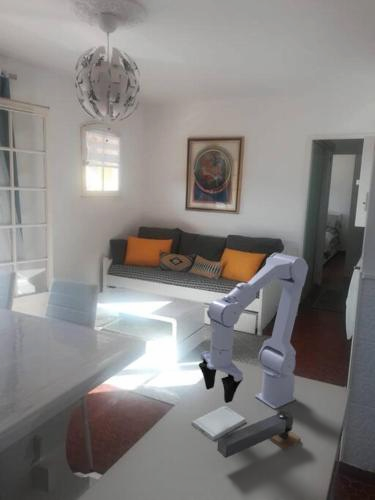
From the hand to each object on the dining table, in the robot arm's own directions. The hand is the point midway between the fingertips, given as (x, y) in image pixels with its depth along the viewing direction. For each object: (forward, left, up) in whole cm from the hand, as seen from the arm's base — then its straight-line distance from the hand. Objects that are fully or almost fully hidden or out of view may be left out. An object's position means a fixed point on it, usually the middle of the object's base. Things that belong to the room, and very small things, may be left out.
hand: (218, 394), depth 101 cm
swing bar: (-1, +14, -5) cm, 14 cm away
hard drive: (0, 0, -9) cm, 9 cm away
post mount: (-10, +14, -8) cm, 19 cm away
